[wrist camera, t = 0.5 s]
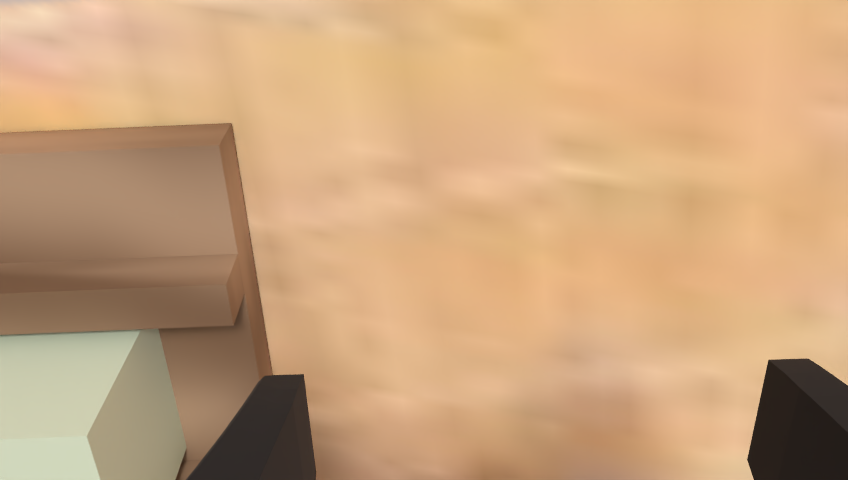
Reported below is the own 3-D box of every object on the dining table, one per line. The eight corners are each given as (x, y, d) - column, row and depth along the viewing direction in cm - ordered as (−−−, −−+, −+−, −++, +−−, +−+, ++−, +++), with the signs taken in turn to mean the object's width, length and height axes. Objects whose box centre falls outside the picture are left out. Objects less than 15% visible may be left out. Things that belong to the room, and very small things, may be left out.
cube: (186, 447, 24) (136, 593, 20) (18, 453, 24) (-70, 600, 20) (152, 306, 22) (86, 435, 17) (-34, 313, 22) (-147, 445, 17)
